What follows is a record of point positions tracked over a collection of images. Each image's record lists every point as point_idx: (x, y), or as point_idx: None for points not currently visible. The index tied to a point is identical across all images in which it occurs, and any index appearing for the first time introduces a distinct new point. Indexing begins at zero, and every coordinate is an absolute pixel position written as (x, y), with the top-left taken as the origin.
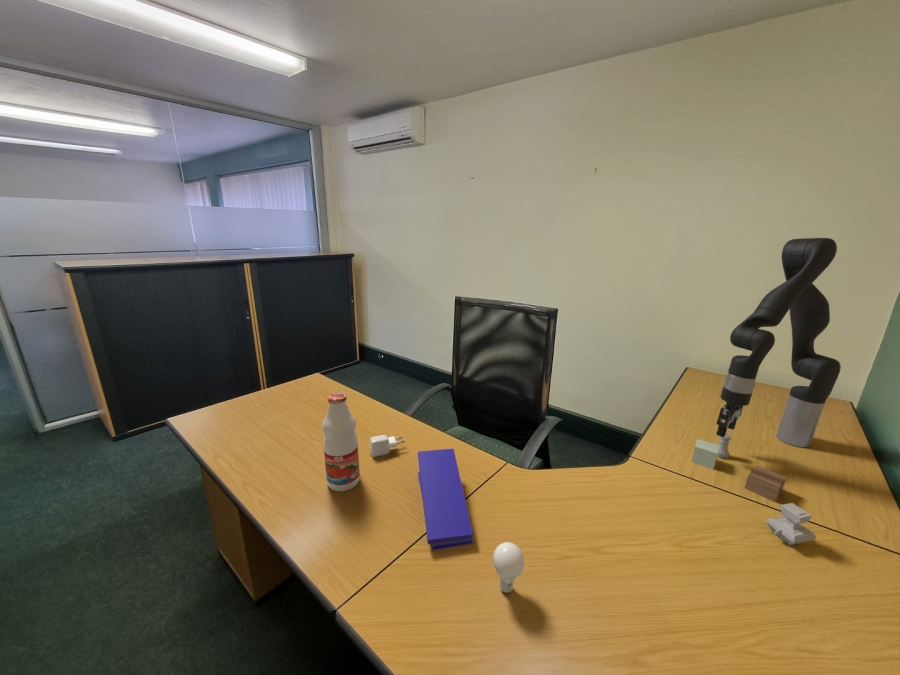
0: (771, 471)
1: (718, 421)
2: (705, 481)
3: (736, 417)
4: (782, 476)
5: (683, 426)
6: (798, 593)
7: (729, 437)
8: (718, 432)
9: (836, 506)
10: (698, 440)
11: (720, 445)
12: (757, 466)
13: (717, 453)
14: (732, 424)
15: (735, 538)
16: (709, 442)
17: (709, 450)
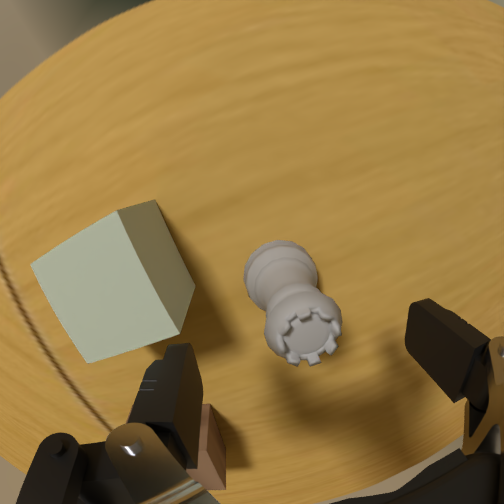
0: (217, 473)
1: (40, 475)
2: (42, 329)
3: (467, 425)
4: (220, 486)
5: (386, 43)
6: (25, 456)
7: (303, 358)
8: (147, 378)
9: (285, 485)
10: (101, 231)
11: (267, 294)
12: (201, 453)
13: (88, 362)
14: (429, 358)
15: (2, 409)
16: (152, 285)
17: (70, 328)
